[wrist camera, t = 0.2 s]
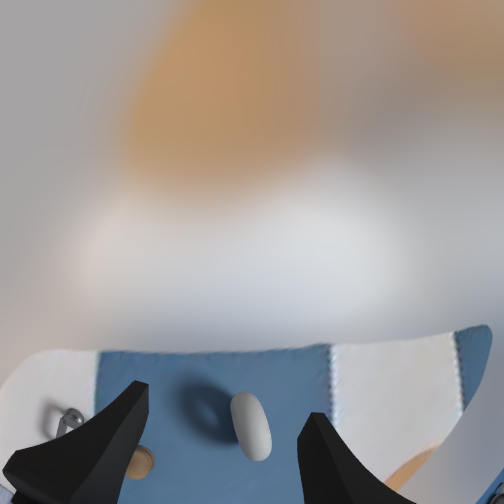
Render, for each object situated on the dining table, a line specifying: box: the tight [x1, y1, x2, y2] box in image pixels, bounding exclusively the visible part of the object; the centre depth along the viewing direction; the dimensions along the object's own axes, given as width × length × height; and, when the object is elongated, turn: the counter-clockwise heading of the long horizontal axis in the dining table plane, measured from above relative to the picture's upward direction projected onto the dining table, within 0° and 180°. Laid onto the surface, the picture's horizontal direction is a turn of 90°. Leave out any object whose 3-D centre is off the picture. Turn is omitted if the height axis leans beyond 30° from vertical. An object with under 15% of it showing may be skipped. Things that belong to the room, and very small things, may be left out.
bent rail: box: [56, 409, 84, 438], centre depth 28 cm, size 8×10×4 cm
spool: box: [125, 446, 155, 480], centre depth 29 cm, size 4×4×5 cm
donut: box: [230, 392, 272, 461], centre depth 33 cm, size 10×4×10 cm, turn 14°
